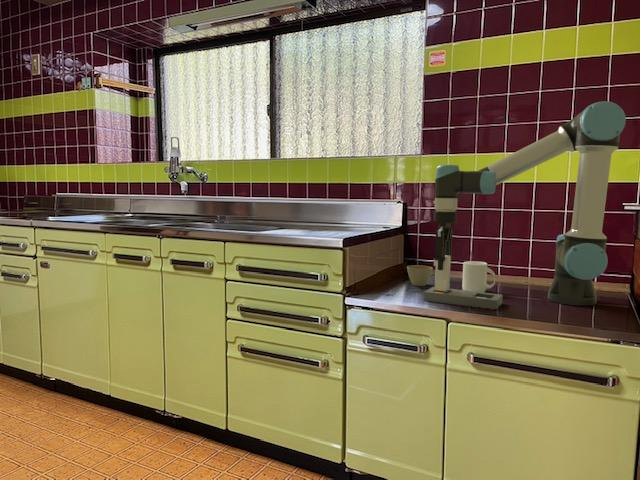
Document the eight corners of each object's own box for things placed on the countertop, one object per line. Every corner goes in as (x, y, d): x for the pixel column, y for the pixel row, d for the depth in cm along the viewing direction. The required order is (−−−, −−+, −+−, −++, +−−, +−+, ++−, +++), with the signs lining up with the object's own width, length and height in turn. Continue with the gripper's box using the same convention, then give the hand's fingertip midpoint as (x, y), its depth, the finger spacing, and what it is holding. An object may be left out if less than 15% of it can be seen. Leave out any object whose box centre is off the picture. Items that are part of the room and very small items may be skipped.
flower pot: (431, 288, 188) (431, 269, 187) (405, 286, 191) (405, 268, 190) (432, 283, 197) (433, 265, 197) (407, 281, 200) (408, 264, 199)
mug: (491, 295, 176) (493, 266, 175) (458, 291, 182) (460, 263, 181) (498, 291, 183) (499, 263, 182) (466, 287, 190) (467, 260, 188)
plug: (449, 289, 170) (450, 255, 168) (446, 291, 166) (447, 256, 165) (435, 287, 172) (436, 254, 171) (431, 289, 169) (433, 255, 167)
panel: (502, 303, 164) (502, 294, 164) (496, 309, 156) (497, 300, 155) (432, 294, 176) (432, 286, 176) (423, 300, 168) (424, 291, 167)
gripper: (441, 209, 175) (439, 273, 178) (427, 211, 160) (424, 281, 163) (462, 210, 171) (459, 275, 174) (449, 212, 157) (446, 283, 159)
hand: (442, 278), depth 169 cm, fingers closed on plug, 4 cm apart
